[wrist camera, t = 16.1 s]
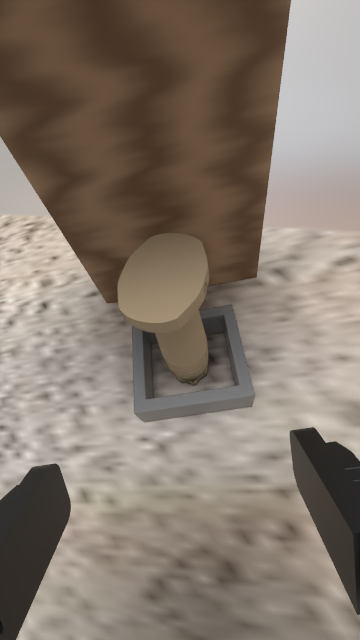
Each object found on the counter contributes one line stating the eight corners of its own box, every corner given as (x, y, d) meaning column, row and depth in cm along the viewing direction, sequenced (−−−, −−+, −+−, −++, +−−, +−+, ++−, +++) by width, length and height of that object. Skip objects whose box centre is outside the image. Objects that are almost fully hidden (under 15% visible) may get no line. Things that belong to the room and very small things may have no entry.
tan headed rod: (159, 396, 28) (101, 314, 15) (177, 338, 31) (141, 229, 18) (208, 408, 27) (189, 330, 14) (221, 346, 30) (216, 236, 17)
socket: (144, 422, 27) (134, 413, 24) (141, 337, 32) (131, 321, 29) (251, 406, 26) (254, 395, 23) (231, 322, 31) (232, 304, 28)
